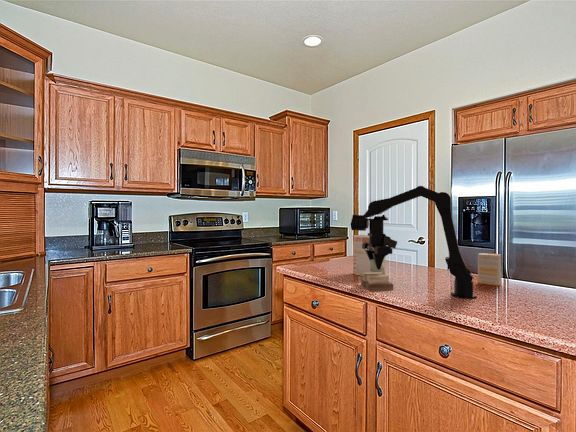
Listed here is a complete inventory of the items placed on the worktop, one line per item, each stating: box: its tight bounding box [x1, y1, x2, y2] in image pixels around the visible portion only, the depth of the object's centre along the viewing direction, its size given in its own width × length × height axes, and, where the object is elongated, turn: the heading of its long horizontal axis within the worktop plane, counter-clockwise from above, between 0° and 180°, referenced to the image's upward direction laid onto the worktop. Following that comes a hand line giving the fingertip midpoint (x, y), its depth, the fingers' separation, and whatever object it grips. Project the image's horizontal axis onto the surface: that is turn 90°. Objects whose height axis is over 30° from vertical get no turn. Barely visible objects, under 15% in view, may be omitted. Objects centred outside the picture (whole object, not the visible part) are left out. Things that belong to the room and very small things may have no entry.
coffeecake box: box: [352, 234, 387, 277], centre depth 163 cm, size 15×7×20 cm, turn 35°
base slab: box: [360, 278, 394, 292], centre depth 141 cm, size 10×10×3 cm
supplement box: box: [477, 252, 502, 287], centre depth 144 cm, size 8×5×13 cm, turn 47°
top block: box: [362, 272, 390, 284], centre depth 141 cm, size 8×8×3 cm
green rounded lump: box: [370, 259, 383, 272], centre depth 140 cm, size 5×5×4 cm
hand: (376, 268), depth 140 cm, fingers closed on green rounded lump, 5 cm apart
